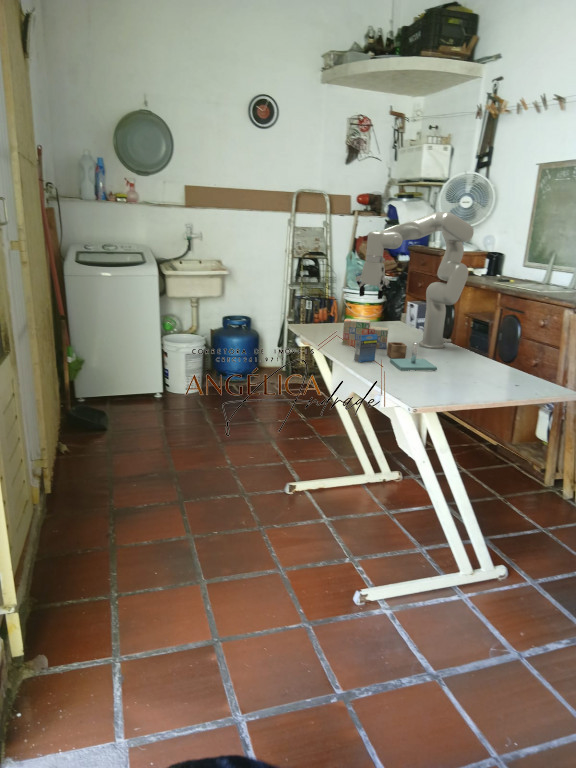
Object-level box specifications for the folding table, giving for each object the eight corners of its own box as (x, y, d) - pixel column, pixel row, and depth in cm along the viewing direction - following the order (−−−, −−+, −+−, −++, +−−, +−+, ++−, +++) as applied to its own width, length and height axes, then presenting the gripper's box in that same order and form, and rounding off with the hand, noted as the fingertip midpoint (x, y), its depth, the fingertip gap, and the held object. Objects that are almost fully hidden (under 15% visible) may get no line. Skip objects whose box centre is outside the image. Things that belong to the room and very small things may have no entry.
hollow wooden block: (400, 354, 258) (401, 342, 256) (405, 358, 251) (406, 345, 250) (386, 354, 257) (388, 342, 255) (391, 358, 250) (392, 345, 249)
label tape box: (369, 358, 249) (372, 331, 245) (375, 360, 245) (377, 333, 241) (353, 360, 244) (356, 333, 241) (359, 362, 241) (361, 335, 237)
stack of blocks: (386, 346, 273) (389, 322, 269) (385, 349, 267) (388, 324, 263) (343, 342, 278) (345, 318, 274) (341, 344, 272) (343, 320, 268)
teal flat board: (424, 361, 247) (424, 358, 247) (436, 370, 234) (437, 367, 234) (389, 361, 245) (390, 358, 244) (400, 370, 231) (401, 367, 231)
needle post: (414, 362, 240) (416, 342, 237) (416, 363, 238) (418, 343, 235) (410, 362, 240) (412, 342, 237) (411, 363, 238) (414, 343, 235)
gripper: (395, 261, 248) (391, 299, 253) (362, 257, 258) (359, 294, 264) (386, 261, 243) (383, 300, 248) (353, 258, 253) (350, 295, 258)
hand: (370, 297), depth 256 cm, fingers open, 9 cm apart
